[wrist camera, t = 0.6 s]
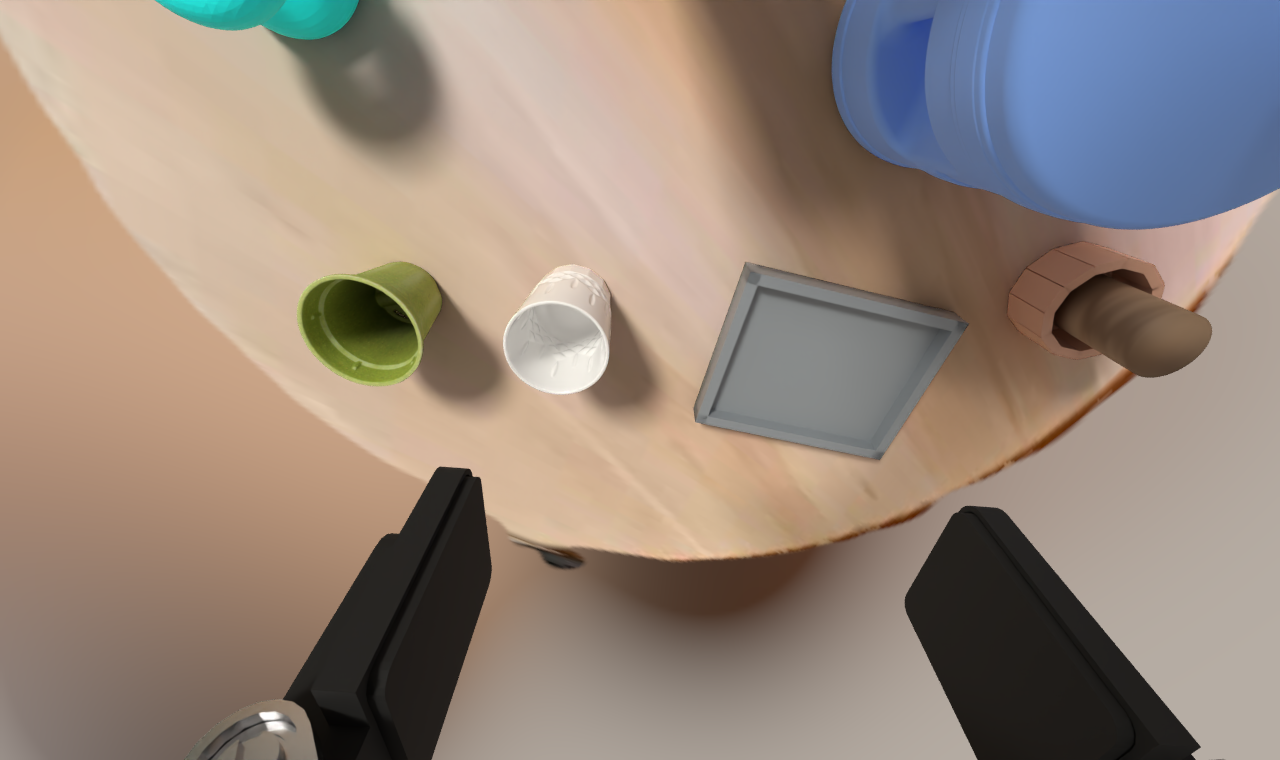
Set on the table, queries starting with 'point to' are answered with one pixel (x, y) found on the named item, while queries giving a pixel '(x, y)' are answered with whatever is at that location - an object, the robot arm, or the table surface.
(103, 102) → the table surface
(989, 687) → the robot arm
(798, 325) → the slate tray
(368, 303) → the plant pot
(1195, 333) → the walnut cylinder
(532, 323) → the white cup
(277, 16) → the donuts
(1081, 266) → the terracotta cup
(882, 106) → the water jug
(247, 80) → the table surface
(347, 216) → the table surface
